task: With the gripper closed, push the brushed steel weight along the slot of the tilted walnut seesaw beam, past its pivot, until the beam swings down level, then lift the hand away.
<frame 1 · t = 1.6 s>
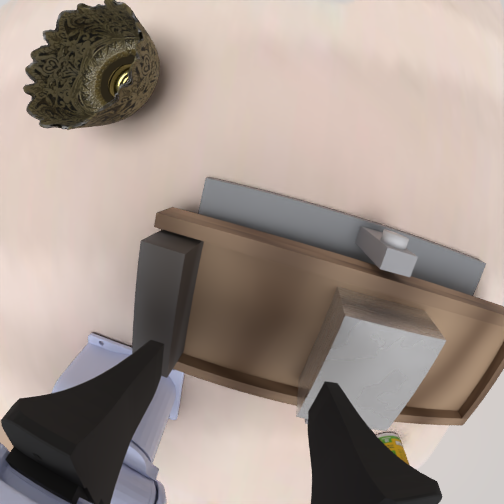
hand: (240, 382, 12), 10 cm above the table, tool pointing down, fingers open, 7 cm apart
steel weight: (361, 348, 17), point 5 cm above the table, tilted 6°, touching seesaw beam
stand: (339, 308, 22), on the table
supplement bottle: (377, 443, 28), on the table
cup: (135, 86, 18), on the table
seesaw beam: (355, 354, 16), point 6 cm above the table, hinge at -6.0°, touching steel weight
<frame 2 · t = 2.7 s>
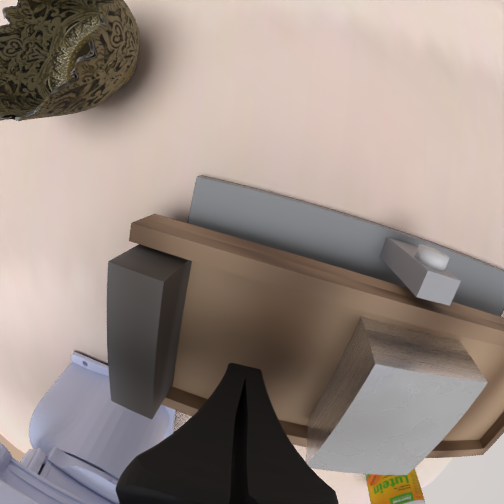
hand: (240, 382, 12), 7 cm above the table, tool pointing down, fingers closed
steel weight: (384, 385, 13), point 5 cm above the table, tilted 6°, touching seesaw beam
stand: (356, 331, 18), on the table
supplement bottle: (387, 465, 24), on the table
cup: (115, 69, 14), on the table
seesaw beam: (378, 395, 13), point 6 cm above the table, hinge at -6.0°, touching steel weight
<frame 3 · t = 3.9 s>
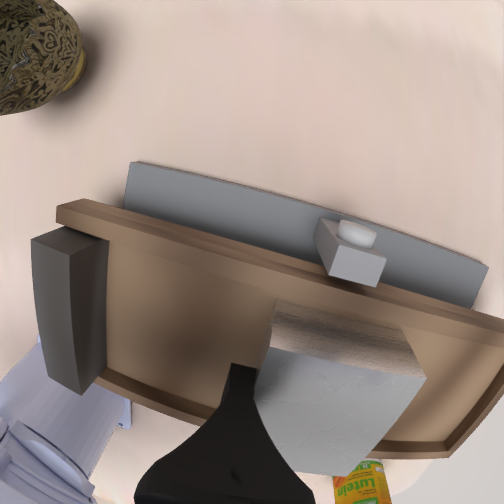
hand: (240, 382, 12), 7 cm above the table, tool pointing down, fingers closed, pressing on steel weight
steel weight: (315, 376, 13), point 5 cm above the table, touching gripper, seesaw beam
stand: (298, 319, 18), on the table
supplement bottle: (356, 466, 24), on the table
cup: (71, 69, 14), on the table
seesaw beam: (303, 385, 13), point 6 cm above the table, hinge at -3.7°, touching steel weight
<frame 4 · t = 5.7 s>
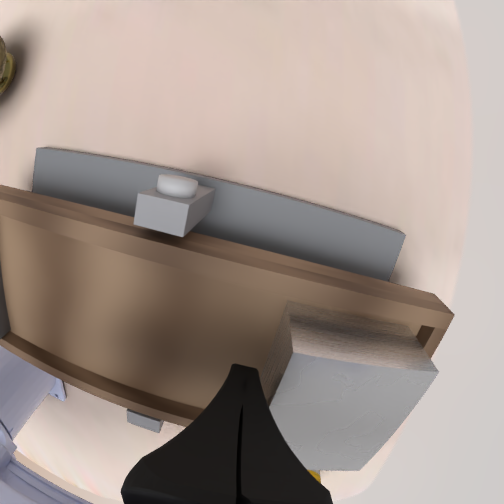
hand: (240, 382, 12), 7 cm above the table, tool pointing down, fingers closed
steel weight: (324, 374, 13), point 5 cm above the table, touching gripper, seesaw beam
stand: (180, 289, 18), on the table
cup: (7, 75, 14), on the table
seesaw beam: (145, 346, 12), point 6 cm above the table, hinge at 0.9°, touching steel weight
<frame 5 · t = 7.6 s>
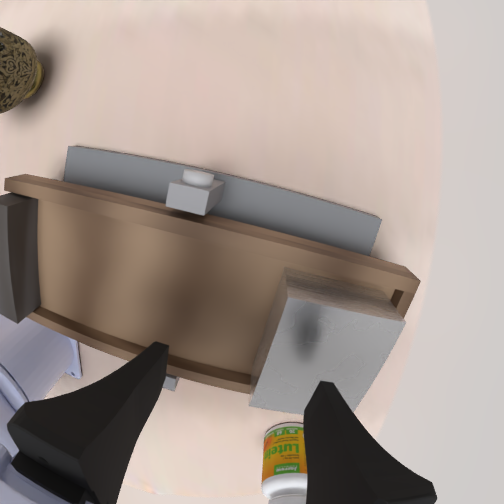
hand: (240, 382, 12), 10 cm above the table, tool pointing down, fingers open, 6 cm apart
steel weight: (315, 332, 17), point 5 cm above the table, touching seesaw beam
stand: (194, 267, 22), on the table
supplement bottle: (289, 434, 27), on the table
cup: (34, 80, 18), on the table
seesaw beam: (169, 306, 16), point 6 cm above the table, hinge at 0.9°, touching steel weight
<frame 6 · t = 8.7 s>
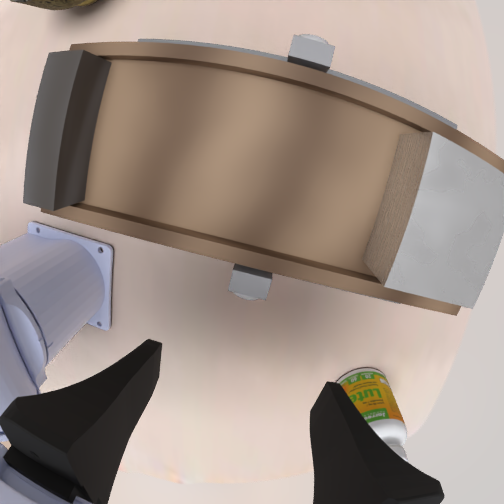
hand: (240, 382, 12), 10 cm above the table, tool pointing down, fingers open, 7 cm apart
steel weight: (427, 214, 14), point 5 cm above the table, touching seesaw beam
stand: (278, 163, 19), on the table
supplement bottle: (358, 386, 25), on the table
seesaw beam: (281, 167, 13), point 6 cm above the table, hinge at 0.9°, touching steel weight
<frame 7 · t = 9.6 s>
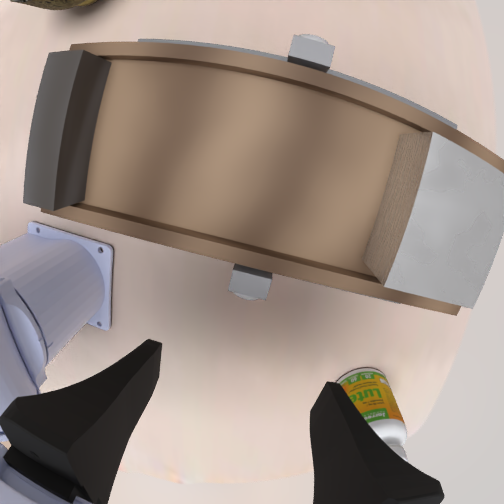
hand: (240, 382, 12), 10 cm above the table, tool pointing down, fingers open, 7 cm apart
steel weight: (427, 214, 14), point 5 cm above the table, touching seesaw beam
stand: (278, 163, 19), on the table
supplement bottle: (358, 386, 25), on the table
seesaw beam: (281, 167, 13), point 6 cm above the table, hinge at 0.9°, touching steel weight
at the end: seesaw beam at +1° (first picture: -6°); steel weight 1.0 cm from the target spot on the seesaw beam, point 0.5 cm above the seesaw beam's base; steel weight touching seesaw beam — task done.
